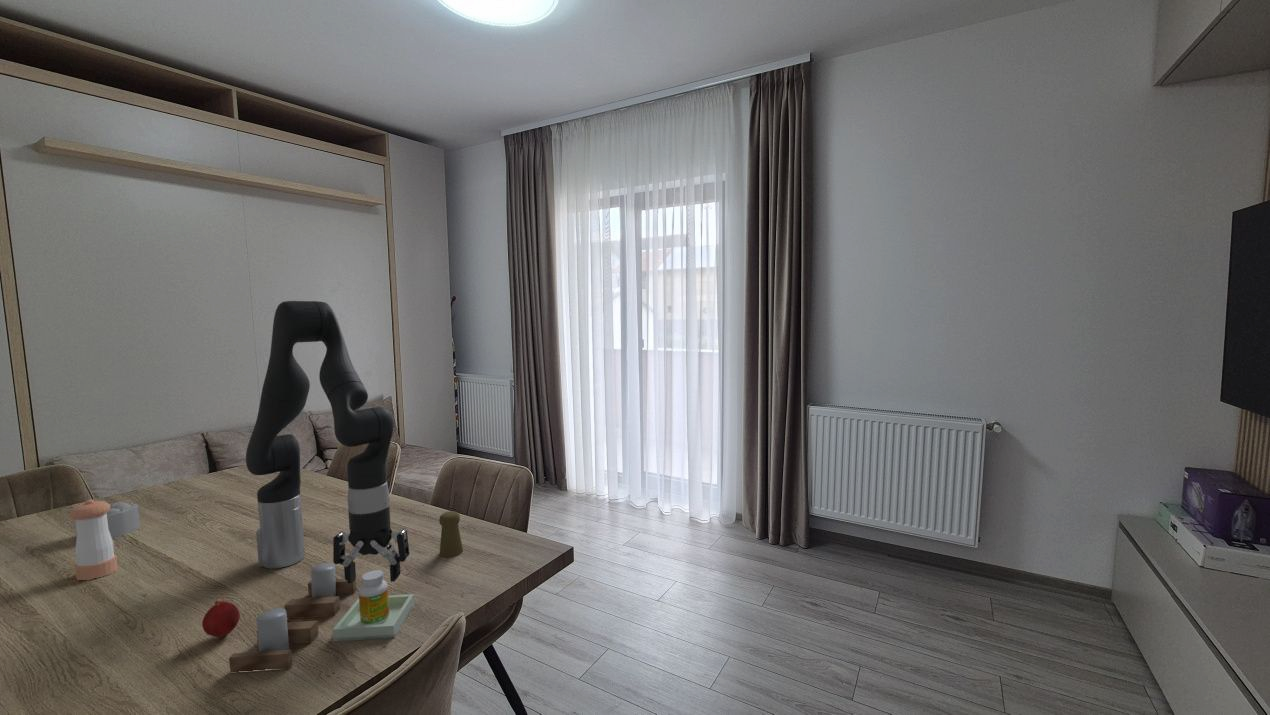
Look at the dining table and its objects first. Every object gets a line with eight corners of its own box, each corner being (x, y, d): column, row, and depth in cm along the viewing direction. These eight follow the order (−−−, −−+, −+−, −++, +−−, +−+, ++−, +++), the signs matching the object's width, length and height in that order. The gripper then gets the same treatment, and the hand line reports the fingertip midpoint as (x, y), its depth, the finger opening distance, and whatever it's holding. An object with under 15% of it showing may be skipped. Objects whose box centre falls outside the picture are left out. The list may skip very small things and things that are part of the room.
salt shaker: (124, 568, 133) (116, 496, 131) (86, 583, 126) (78, 506, 124) (107, 564, 135) (99, 493, 134) (69, 578, 128) (60, 503, 127)
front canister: (254, 664, 96) (250, 623, 95) (269, 648, 100) (266, 609, 99) (280, 662, 96) (276, 621, 95) (294, 646, 100) (291, 607, 100)
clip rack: (230, 673, 93) (229, 657, 93) (311, 593, 120) (310, 580, 120) (288, 669, 94) (287, 653, 94) (356, 590, 121) (355, 578, 120)
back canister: (308, 608, 113) (307, 573, 112) (316, 597, 118) (315, 563, 117) (331, 606, 114) (331, 572, 113) (338, 595, 119) (338, 562, 118)
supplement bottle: (370, 630, 104) (367, 584, 104) (355, 622, 107) (352, 577, 106) (394, 616, 109) (392, 572, 108) (379, 609, 112) (377, 566, 111)
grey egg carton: (74, 538, 152) (71, 510, 152) (133, 522, 163) (130, 496, 163) (85, 546, 147) (81, 516, 146) (145, 529, 158) (142, 502, 157)
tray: (333, 641, 102) (332, 629, 102) (360, 608, 113) (359, 597, 113) (394, 637, 103) (393, 625, 103) (414, 604, 114) (413, 594, 114)
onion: (218, 629, 107) (215, 592, 106) (247, 627, 107) (244, 590, 106) (196, 647, 101) (193, 608, 100) (227, 645, 101) (224, 606, 100)
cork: (455, 558, 136) (453, 518, 135) (434, 556, 137) (432, 516, 136) (467, 548, 142) (465, 509, 141) (447, 546, 143) (445, 507, 142)
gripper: (323, 513, 102) (328, 592, 103) (398, 511, 103) (401, 588, 104) (341, 499, 109) (346, 573, 111) (411, 497, 110) (414, 570, 112)
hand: (373, 580), depth 107 cm, fingers open, 8 cm apart
